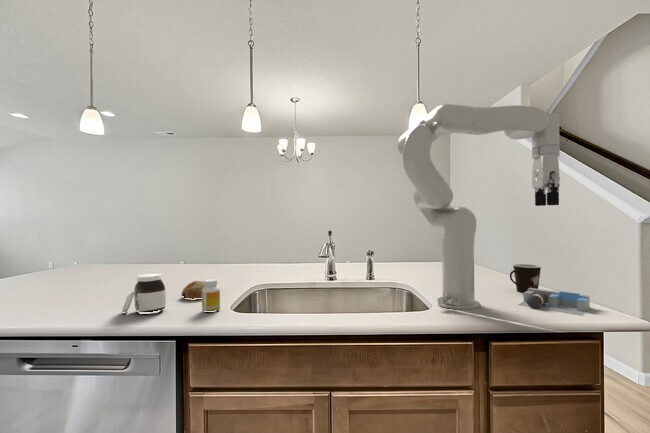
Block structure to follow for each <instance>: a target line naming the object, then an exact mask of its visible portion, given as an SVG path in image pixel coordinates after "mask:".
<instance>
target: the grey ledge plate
mask: <svg viewBox="0 0 650 433" xmlns="http://www.w3.org/2000/svg"><path fill="white" fill-rule="evenodd" d="M538 292H544V293H545V294H546V295H547V296H548V301H547V302H546V303H544V304H543V305H541V306H540V307H538V308H537V309H538V310H539V309H540V310H545V311H552V312H558V313H563V314H569V315H576V316H580V317H583V316H584V315H585V313H587V312H588V311H589V310H590V309H591V308H592V307H591V306H590V305H591V304H590V303H591V302H590V300H591V299H590V295H587V294H580V293H578V292H570V291H569V292H568V291H561V290H560V291H559V290H558V291H556V290H548V289H541V288H538V289H535V288H528V291H526V292H524V293H523V301H522V302H520V303H519V304H517V305H518V306H522V307H527V308H528V307H529V308H531V307H530V306H529V305H528V304H527V299H528V297H530V296H532V295H534V294H536V293H538Z"/></svg>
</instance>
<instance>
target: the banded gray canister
mask: <svg viewBox="0 0 650 433" xmlns="http://www.w3.org/2000/svg"><path fill="white" fill-rule="evenodd" d="M547 301H548V296H547V295H546V294H545V293H544V292H538V293H536V294H534V295H532V296H530V297H528V299H527V304H528V305H529V306H530V307H529V308H532V309H539V308H538V307H540V306H541V305H543V304H544V303H546V302H547Z"/></svg>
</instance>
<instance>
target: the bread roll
mask: <svg viewBox="0 0 650 433" xmlns="http://www.w3.org/2000/svg"><path fill="white" fill-rule="evenodd" d="M204 281H205V280H195V281H191V282H190V283H188V284H187V285H186V286H185V287H184V288H182V292H180V293H181V297H182V296H184V298H190V299H191V298H192V299H194V298H202V289H203V288H204V287H205V286H204ZM184 298H183V299H184Z"/></svg>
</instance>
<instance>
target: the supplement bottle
mask: <svg viewBox="0 0 650 433" xmlns="http://www.w3.org/2000/svg"><path fill="white" fill-rule="evenodd" d="M203 281H204V286H205V287H204V288H203V289H202V300H201V308H202V309H201V310H203V311H215V310H219V309H220V310H221V289H220V287H219V286H218V279H216V278H215V279H214V278H213V279H212V278H211V279H206V280H205V279H204V280H203ZM220 310H219V311H220ZM203 311H202V312H203Z"/></svg>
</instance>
